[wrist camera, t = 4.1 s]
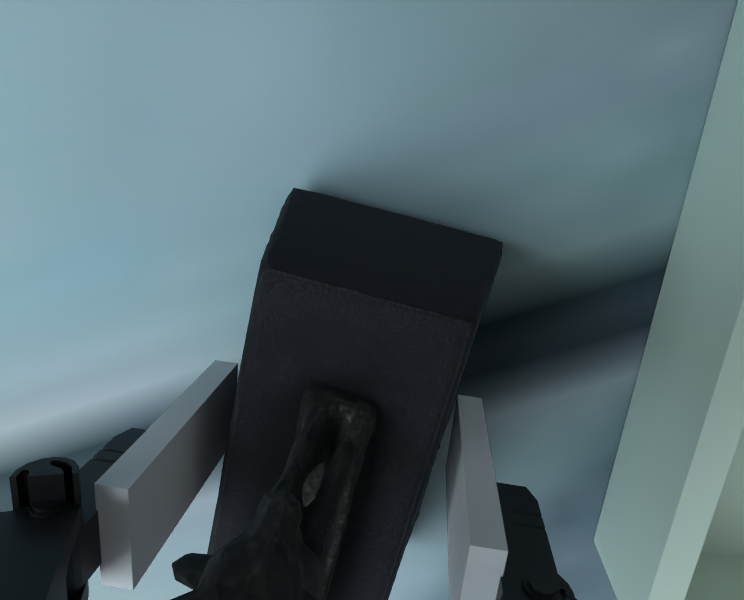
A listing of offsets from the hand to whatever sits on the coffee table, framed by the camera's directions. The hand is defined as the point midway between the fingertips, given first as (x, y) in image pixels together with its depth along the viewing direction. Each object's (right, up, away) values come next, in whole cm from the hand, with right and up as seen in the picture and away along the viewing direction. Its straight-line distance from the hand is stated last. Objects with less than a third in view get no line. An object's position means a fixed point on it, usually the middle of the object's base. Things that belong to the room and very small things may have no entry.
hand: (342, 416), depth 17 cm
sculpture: (0, +1, +2) cm, 3 cm away
